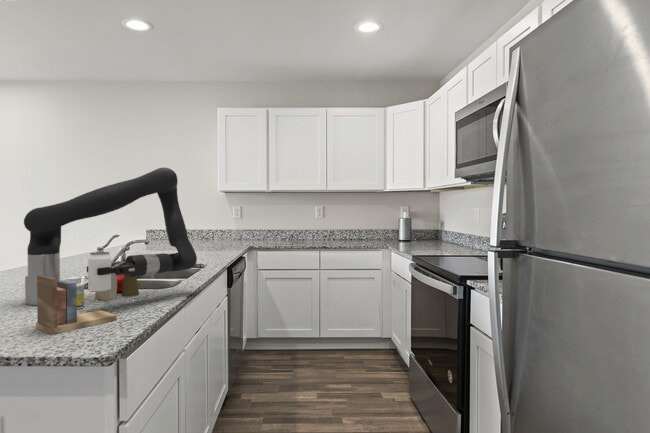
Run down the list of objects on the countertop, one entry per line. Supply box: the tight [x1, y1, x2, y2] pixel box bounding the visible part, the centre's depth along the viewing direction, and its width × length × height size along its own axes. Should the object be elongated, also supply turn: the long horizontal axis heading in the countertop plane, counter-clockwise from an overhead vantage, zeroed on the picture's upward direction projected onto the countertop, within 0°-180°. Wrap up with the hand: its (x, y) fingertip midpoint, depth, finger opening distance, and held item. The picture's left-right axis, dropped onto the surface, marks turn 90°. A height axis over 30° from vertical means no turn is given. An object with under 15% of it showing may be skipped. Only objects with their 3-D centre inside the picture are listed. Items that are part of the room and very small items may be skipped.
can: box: [87, 251, 112, 293], centre depth 130 cm, size 6×6×12 cm
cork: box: [121, 274, 140, 297], centre depth 155 cm, size 6×6×11 cm
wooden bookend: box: [35, 275, 117, 336], centre depth 116 cm, size 17×10×14 cm, turn 144°
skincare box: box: [94, 274, 118, 301], centre depth 148 cm, size 6×4×12 cm
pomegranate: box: [117, 274, 124, 294], centre depth 160 cm, size 10×10×9 cm
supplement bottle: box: [66, 276, 85, 310], centre depth 134 cm, size 6×6×10 cm
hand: (92, 270), depth 128 cm, fingers closed on can, 6 cm apart
